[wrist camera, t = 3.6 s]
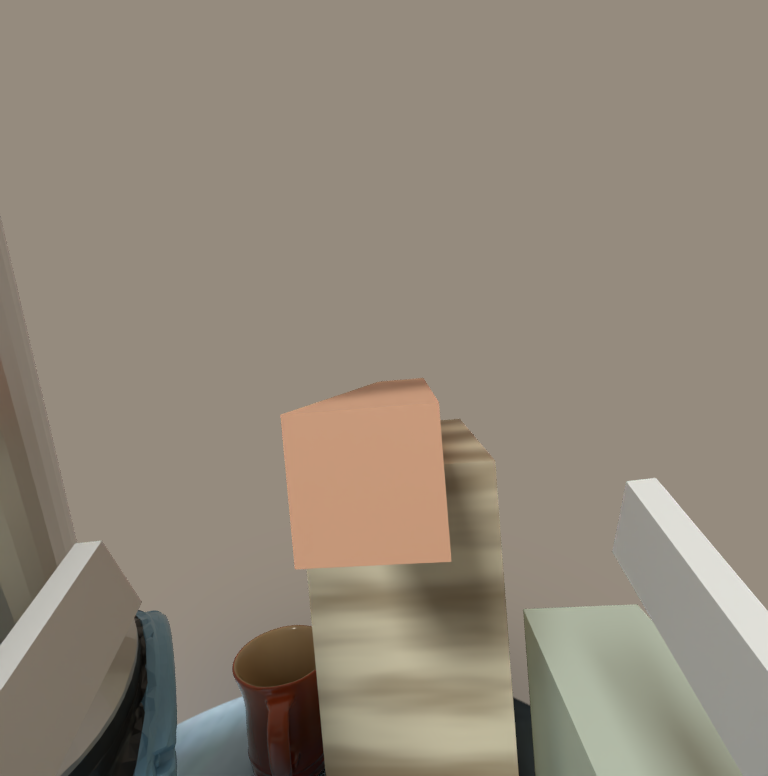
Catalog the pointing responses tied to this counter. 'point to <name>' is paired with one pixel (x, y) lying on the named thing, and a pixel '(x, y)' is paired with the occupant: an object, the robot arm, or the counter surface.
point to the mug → (281, 702)
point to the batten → (367, 478)
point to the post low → (614, 698)
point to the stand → (421, 645)
